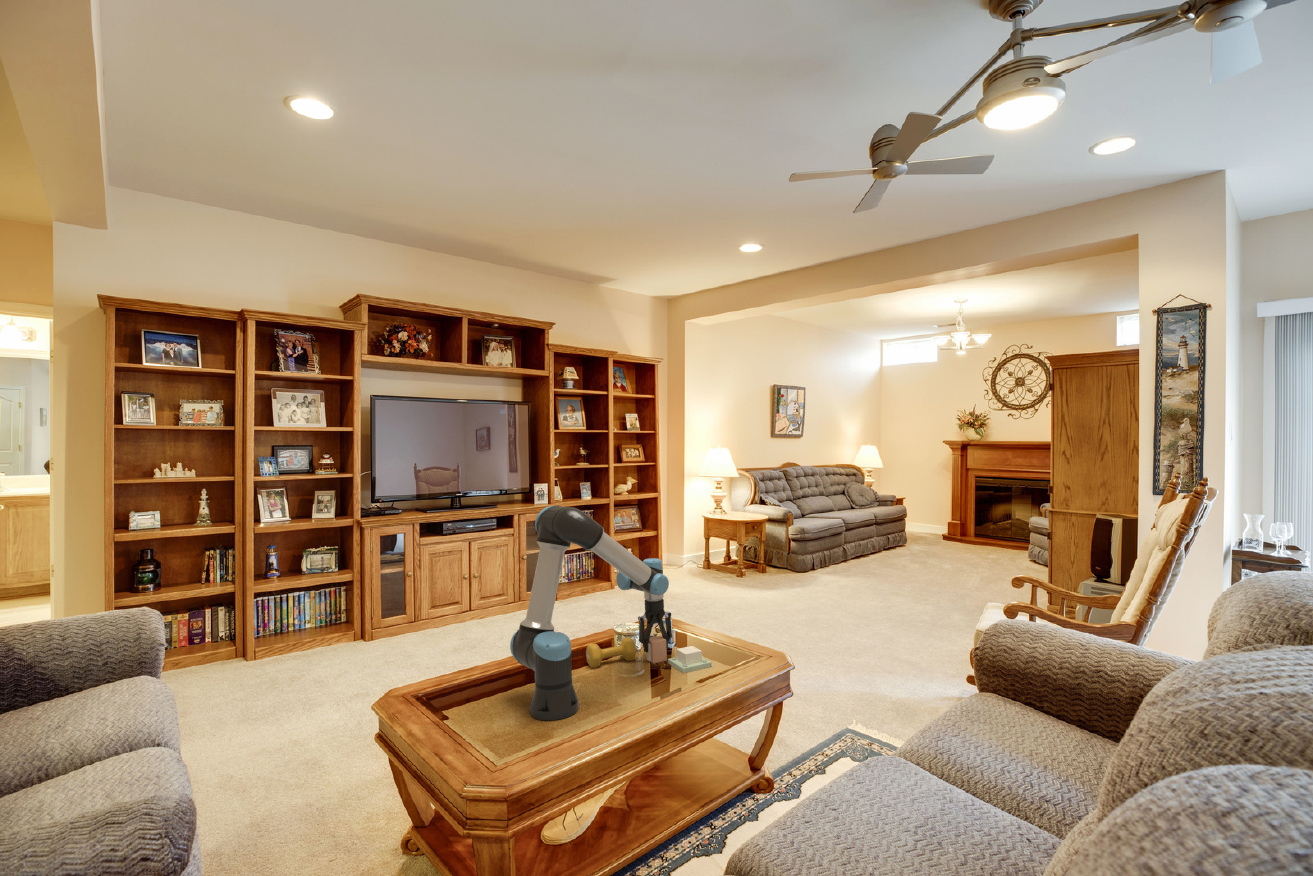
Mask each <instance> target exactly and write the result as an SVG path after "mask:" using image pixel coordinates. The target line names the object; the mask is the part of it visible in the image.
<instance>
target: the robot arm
mask: <svg viewBox="0 0 1313 876" xmlns="http://www.w3.org/2000/svg"><path fill="white" fill-rule="evenodd" d="M534 528H535V529H534V530H535V531H536V533H537V539H536V544H538V547H539V551H538V557H537V562H536V566H535V572H534V576H533V580H532V586H531V591H530V596H529V597H530V598H529V601H528V606H527V611H526V617H525V618H524V619H523V620H522V621H521V622H519V628H518V629H517V630H516V631H515V632H514V633H513V635H512V637H511V640H510V644H509V648H510V653H511V656H512V657H513V658H514V659H515V661H517V662H518V663H519V664H520V665H522V666H523V667H526V668H528V669H530V670H532V671H534V692H533V694H532V698H531V701H530V705H529V706H530V708H529V709H530V711H529V712H530V715H531V717H532V718H534V719H537V720H540V721H556V720H562V719H566V718H569V717H571V716H573V715H574V714H576V713H577V712H578V710H579V708H580V707H579V704H580V703H579V699H578V696H577V693H576V691H575V687H574V685H573V674H572V673H573V668H572V666H573V665H572V644H571V639H570V637H569V636H568V635H567V634H566V633H564V632H560V631H555V626H554V625H553V624H552V619H553V612H554V608H555V602H556V598H557V591H558V588H559V583H560V577H561V572H562V567H563V562H564V558H565V557H564V555H565V552H566V551H567V550H568V549H570V547H571V543H572V544H574V545H577V546H579V547H580V548H582V549H583V550H585V551H591V552H592V553H594V554H595V555H596V556H598V557H600V558H601V559H602V560H604V561H605V562H606V563H607V564H609V565H611V567H613V568H614V569H616V570H617V571H618V572H617V573H616V584H617V587H618V588H619V589H620V590H622V591H629V590H635V591H640V592H643V593H644V594H643V596H644V597H643V598H644V614H643V615H641V616H640V615H639V616H638V617H637V621H638V642H639V643H640V644H643V651H644V653H645V656H646V657H645V660H646V661H648V662H650V661H651V646H650V644H649V639H650V637H651V634H652V629H653V627H654V625H655V624H657V626H658V628H659V631H660V633H661V637H662V638H664V639H666V649H668V648H669V641H670V639H672V638H673V630H672V622H671V619H672V613H671V612H669V611H665V609H664V608H665V601H664V594H666V592H667V591H668V589H669V585H670V581H669V578H668V577H667V576H666V575H665V574H663V573H664V570H663V562H662V560H661V559H660V558H654V557H652V558H645V559H644V560H643V561H642V560H641V559H640V558H638V557H637V556H635V555H634V554H633V553H632V552H631V551H630V550H628V549H627V548H625V547H624V546H623V545H622V544H621V543H619V542H618V541H617V540H615V539H614V538H613V537H611V536H610V535H608V533H606V532H605V530H604V527H603V525H601V524H600V523H598V522H597V521H596V520H595V519H593V517H591V516H590V515H588V514H587V513H585V512H584V511H582V510H580V509H578V508H576V507H573V506H571V507H570V506H561V505H550V506H547V507H544V508H543V509H541V510H540V511H539V512H538V514H537V515H536V518H535V521H534ZM663 619H664V620H665V621H663ZM645 622H646V626H645ZM664 623H665V624H664ZM645 627H646V628H645Z"/></svg>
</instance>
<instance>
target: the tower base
mask: <svg viewBox="0 0 1313 876" xmlns="http://www.w3.org/2000/svg"><path fill="white" fill-rule="evenodd" d="M667 664H669V665H670V666H672V667H673V668H674V669H676V670H678V671H679V672H681V673H682V674H685V673H689V672H694V671H698V670H703V669H708V668H711V667H712V662H711V661H710V660H708V659H707V658H704V657H703V651H702V650H701V649H699V648H697V647H696V646H694V645H690V646H685V647H681V648H679V647H678V648H676V657H674V656H673V657H672V658H667Z"/></svg>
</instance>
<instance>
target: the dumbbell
mask: <svg viewBox="0 0 1313 876" xmlns="http://www.w3.org/2000/svg"><path fill="white" fill-rule="evenodd" d="M586 646H587V647H586V651H585V657H586V663H587V664H588V666H589V668H592V669H595V668H598V667H600V665H601V663H602V661H603V659H607V658H613V657H618V656H621V657H622V658H623V659H624V660H626V661H627V662H631V661H634V660H635V659H636V654H637V647H636V643H635V640H634V639H633V638H632V637H629V636H628V637H624V638H622V639H621V642H620V644H619V646H612V647H611V646H610V647H607V648H600V646H599V645H598V644H597V643H595V642H593V643H588V644H587V645H586Z"/></svg>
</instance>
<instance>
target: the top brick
mask: <svg viewBox="0 0 1313 876" xmlns="http://www.w3.org/2000/svg"><path fill="white" fill-rule="evenodd" d="M649 644H650V646H651V661H649V662H650V663H651V664H658V663H662V662H666V661H667V662H668V654H667V651H668V650H667V649H668V648H666V639H664V638H663V637H662V636H660V635H656V636H650V639H649Z"/></svg>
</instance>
